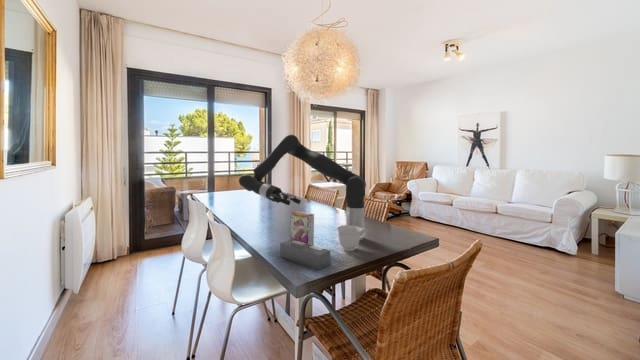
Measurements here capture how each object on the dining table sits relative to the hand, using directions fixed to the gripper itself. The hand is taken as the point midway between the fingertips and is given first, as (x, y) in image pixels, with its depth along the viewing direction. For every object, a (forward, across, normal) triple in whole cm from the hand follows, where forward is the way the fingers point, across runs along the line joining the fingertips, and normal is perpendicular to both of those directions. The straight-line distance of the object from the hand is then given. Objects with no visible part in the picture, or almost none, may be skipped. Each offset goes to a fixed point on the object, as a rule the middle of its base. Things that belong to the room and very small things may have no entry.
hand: (294, 202), depth 136 cm
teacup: (+30, +12, +14) cm, 35 cm away
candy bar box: (+8, +3, +20) cm, 21 cm away
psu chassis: (+20, -12, +18) cm, 29 cm away
